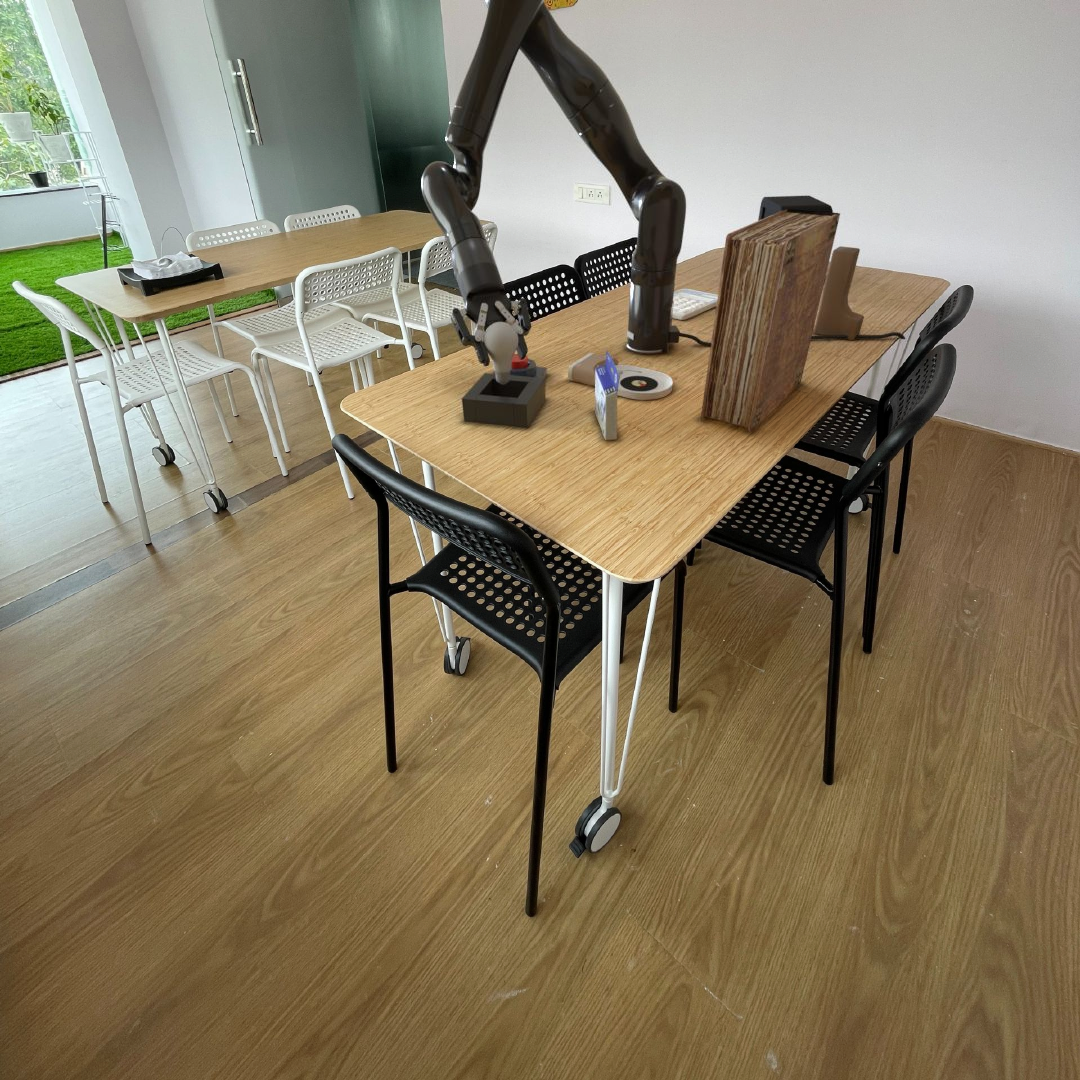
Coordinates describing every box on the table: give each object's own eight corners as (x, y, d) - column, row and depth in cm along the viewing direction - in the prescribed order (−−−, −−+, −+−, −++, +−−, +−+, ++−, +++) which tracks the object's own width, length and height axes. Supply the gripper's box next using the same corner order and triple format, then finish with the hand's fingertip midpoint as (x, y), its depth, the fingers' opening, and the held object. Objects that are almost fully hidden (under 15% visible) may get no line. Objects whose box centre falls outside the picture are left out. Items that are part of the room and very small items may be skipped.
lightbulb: (516, 391, 109) (513, 329, 102) (482, 389, 110) (477, 327, 103) (523, 378, 113) (521, 317, 107) (491, 376, 114) (487, 316, 108)
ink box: (593, 412, 113) (594, 350, 106) (605, 411, 113) (608, 349, 106) (603, 441, 104) (606, 376, 97) (617, 440, 104) (620, 375, 97)
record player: (594, 350, 130) (683, 369, 121) (594, 364, 132) (681, 384, 122) (565, 368, 122) (657, 390, 113) (564, 383, 124) (655, 406, 115)
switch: (547, 375, 128) (546, 358, 126) (536, 390, 122) (535, 373, 119) (501, 371, 130) (500, 355, 128) (488, 386, 124) (487, 369, 122)
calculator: (639, 311, 160) (640, 303, 159) (683, 293, 171) (684, 286, 170) (683, 321, 153) (684, 313, 152) (725, 302, 164) (727, 295, 163)
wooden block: (859, 335, 141) (883, 250, 131) (853, 341, 139) (877, 254, 128) (819, 328, 146) (839, 245, 135) (812, 333, 143) (832, 249, 132)
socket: (545, 400, 118) (545, 377, 115) (527, 428, 109) (526, 404, 106) (486, 395, 121) (484, 372, 118) (464, 421, 111) (461, 398, 109)
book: (749, 433, 105) (787, 241, 87) (699, 420, 109) (725, 234, 91) (800, 383, 121) (841, 212, 103) (755, 373, 125) (786, 208, 107)
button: (531, 362, 125) (530, 354, 124) (524, 371, 122) (524, 362, 121) (510, 361, 126) (509, 352, 125) (503, 369, 123) (503, 360, 122)
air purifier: (820, 285, 174) (838, 205, 162) (768, 286, 175) (783, 207, 163) (797, 267, 191) (812, 194, 179) (749, 268, 191) (762, 195, 179)
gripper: (440, 265, 103) (470, 358, 102) (519, 255, 108) (549, 344, 106) (435, 291, 110) (462, 377, 109) (509, 280, 115) (537, 363, 113)
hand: (505, 360), depth 107 cm, fingers closed on lightbulb, 6 cm apart
